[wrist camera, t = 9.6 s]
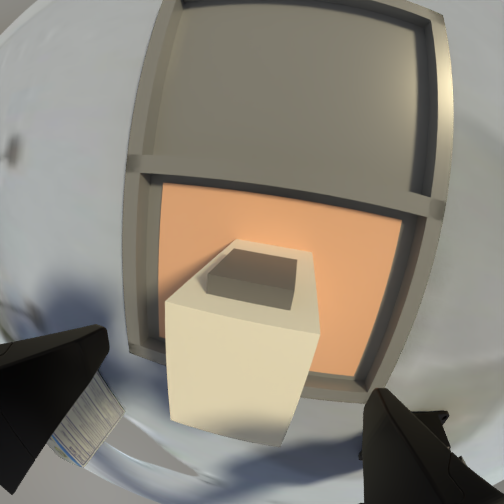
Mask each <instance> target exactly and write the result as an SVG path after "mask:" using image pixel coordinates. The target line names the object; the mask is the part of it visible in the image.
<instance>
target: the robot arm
mask: <svg viewBox="0 0 504 504" xmlns="http://www.w3.org/2000/svg"><path fill="white" fill-rule="evenodd" d="M108 352H109V340H108V334H107V330H106V328H105V327H103V326H100V325H97V324H94V325H90V326H86V327H81V328H77V329H72V330H68V331H63V332H59V333H54V334H50V335H45V336H40V337H35V338H30V339H25V340H20V341H15V342H10V343H5V344H0V485H1V486H2V487H3V488H4V489H5V490H7V491H8V492H9V493H10V494H11V495H13V494H14V493H15V491H16V489H17V488H18V486H19V485H20V483H21V481H22V480H23V478H24V477H25V475H26V473H27V472H28V470H29V469H30V467H31V466H32V464H33V463H34V461H35V459H36V458H37V456H38V455H39V453H40V452H41V450H42V449H43V447H44V446H45V444H46V443H47V442H48V440H49V439H50V437H51V436H52V434H53V433H54V431H55V430H56V429H57V427H58V426H59V424H60V423H61V422H62V420H63V419H64V417H65V416H66V415H67V413H68V412H69V410H70V409H71V408H72V406H73V405H74V404H75V402H76V401H77V400H78V398H79V397H80V395H81V394H82V393H83V391H84V390H85V389H86V387H87V386H88V385H89V383H90V382H91V380H92V379H93V377H94V375H95V374H96V372H97V370H98V369H99V367H100V365H101V364H102V362H103V360H104V359H105V357H106V356H107V354H108ZM448 417H449V413H448V411H438V412H422V413H412V412H411V411H410V410H409V409H408V408H407V407H405V406H404V405H403V404H402V403H401V402H400V401H399V400H398V399H397V398H396V397H395V396H394V395H393V394H392V393H391V392H390V391H389V390H388V389H386V388H375V389H374V390H373V391H372V393H371V395H370V397H369V399H368V401H367V402H366V404H365V407H364V411H363V442H362V451H361V452H360V454H359V455H358V456H359V460H363V476H364V503H359V504H504V494H503V493H501V492H500V491H499V490H497V489H496V488H494V487H493V486H492V485H490V484H489V483H488V482H486V481H485V480H484V479H483V478H481V477H480V476H479V475H477V474H476V473H475V472H474V471H472V470H471V469H470V468H469V467H468V466H467V465H466V463H465V461H464V460H463V458H462V456H460V457H457V456H456V455H455V454H454V453H453V452H451V450H450V448H451V447H450V444H449V441H448V439H447V436H446V434H445V431H444V428H443V426H442V425H443V424H444V423H445V421H446V420H447V419H448Z"/></svg>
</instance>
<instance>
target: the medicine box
mask: <svg viewBox="0 0 504 504" xmlns="http://www.w3.org/2000/svg"><path fill="white" fill-rule="evenodd" d="M124 414H125V411H124V410H123V408H122V407H121V406H120V404H119V403H118V401H117V400H116V398H115V397H114V395H113V394H112V392H111V391H110V390H109V388H108V386H107V385H106V383H105V382H104V380H103V379H102V377H101V375H100V374H99V372H98V370H97V372H96V374H95V375H94V377H93V379H92V380H91V382H90V383H89V385H88V386H87V387H86V389H85V390H84V391H83V393H82V394H81V395H80V397H79V398H78V400H77V401H76V402H75V404H74V405H73V406H72V408H71V409H70V410H69V412H68V413H67V415H66V416H65V417H64V419H63V420H62V422H61V423H60V424H59V426H58V427H57V429H56V430H55V431H54V433H53V434H52V436H51V437H50V439H49V440H48V442H47V443H46V444H47V445H48V446H49V447H50V448H51V449H52V450H53V451H54V452H55V453H56V454H57V455H58V456H59V457H60V458H62V459H64V460H66V461H68V462H70V463H72V464H74V465H77V466H80V467H83V468H84V467H85V466H86V464H87V463H88V462H89V460H90V459H91V457H92V456H93V455H94V454H95V452H96V451H97V449H98V448H99V447H100V446H101V444H102V443H103V442H104V440H105V439H106V438H107V436H108V435H109V433H110V432H111V431H112V429H113V428H114V427H115V426H116V424H117V423H118V421H119V420H120V419H121V417H122V416H123V415H124Z"/></svg>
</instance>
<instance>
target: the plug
mask: <svg viewBox="0 0 504 504" xmlns="http://www.w3.org/2000/svg"><path fill="white" fill-rule="evenodd" d="M319 337H320V323H319V311H318V300H317V290H316V281H315V271H314V263H313V254H312V252H308V251H302V250H297V249H291V248H285V247H280V246H274V245H269V244H263V243H257V242H251V241H246V240H240V239H236V240H234V241H233V242H232V243H231V244H230V245H229V246H227V247H226V248H225V249H224V250H223V251H222V252H220V253H219V254H218V255H217V256H216V257H215V258H214V259H212V260H211V261H210V262H209V263H208V264H207V265H206V266H204V267H203V268H202V269H201V270H200V271H199V272H197V273H196V274H195V275H194V276H193V277H192V278H191V279H190V280H188V281H187V282H186V283H185V284H184V285H183V286H182V287H180V288H179V289H178V290H177V291H176V292H175V293H174V294H173V295H171V296H170V297H169V298H168V299H167V300H166V301H165V340H166V365H167V382H168V395H169V407H170V417H171V420H173V421H175V422H178V423H181V424H184V425H187V426H191V427H194V428H197V429H200V430H204V431H207V432H211V433H214V434H218V435H222V436H226V437H230V438H234V439H238V440H243V441H248V442H252V443H258V444H263V445H269V446H275V447H281V444H282V442H283V440H284V437H285V435H286V432H287V430H288V427H289V425H290V422H291V420H292V417H293V414H294V412H295V409H296V407H297V404H298V401H299V398H300V396H301V393H302V390H303V387H304V384H305V381H306V378H307V375H308V372H309V369H310V366H311V363H312V360H313V357H314V354H315V351H316V347H317V344H318V341H319Z"/></svg>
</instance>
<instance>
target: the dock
mask: <svg viewBox="0 0 504 504" xmlns="http://www.w3.org/2000/svg"><path fill="white" fill-rule="evenodd" d="M452 144H453V86H452V72H451V62H450V53H449V46H448V40H447V34H446V28H445V23H444V18H443V15H441V14H439V13H437V12H434V11H432V10H430V9H427V8H425V7H422V6H420V5H417V4H414V3H412V2H409V1H406V0H163V2H162V4H161V7H160V10H159V13H158V16H157V19H156V22H155V25H154V28H153V31H152V35H151V38H150V42H149V45H148V49H147V52H146V56H145V60H144V64H143V68H142V72H141V77H140V81H139V86H138V91H137V96H136V101H135V106H134V112H133V118H132V124H131V131H130V138H129V146H128V154H127V163H126V174H125V186H124V202H123V231H122V258H123V287H124V303H125V316H126V326H127V335H128V344H129V352H130V353H132V354H134V355H137V356H140V357H142V358H145V359H148V360H151V361H154V362H157V363H159V364H162V365H165V366H167V365H166V340H165V301H166V300H167V299H168V298H169V297H170V296H171V295H173V294H174V293H175V292H176V291H177V290H178V289H179V288H180V287H182V286H183V285H184V284H185V283H186V282H187V281H188V280H190V279H191V278H192V277H193V276H194V275H195V274H196V273H197V272H199V271H200V270H201V269H202V268H203V267H204V266H206V265H207V264H208V263H209V262H210V261H211V260H212V259H214V258H215V257H216V256H217V255H218V254H219V253H220V252H222V251H223V250H224V249H225V248H226V247H227V246H229V245H230V244H231V243H232V242H233V241H234V240H236V239H240V240H246V241H251V242H257V243H263V244H269V245H274V246H280V247H285V248H291V249H297V250H302V251H308V252H312V254H313V263H314V271H315V281H316V290H317V300H318V311H319V323H320V337H319V341H318V344H317V347H316V351H315V354H314V357H313V360H312V363H311V366H310V369H309V372H308V375H307V378H306V381H305V384H304V387H303V390H302V393H301V396H300V397H303V398H310V399H318V400H327V401H337V402H348V403H363V404H366V402H367V401H368V399H369V397H370V395H371V393H372V391H373V390H374V389H375V388H384V387H385V385H386V383H387V381H388V379H389V377H390V375H391V373H392V371H393V369H394V367H395V365H396V363H397V361H398V359H399V356H400V354H401V352H402V350H403V347H404V345H405V343H406V340H407V338H408V336H409V333H410V331H411V328H412V325H413V323H414V320H415V318H416V315H417V312H418V309H419V307H420V304H421V301H422V298H423V295H424V292H425V289H426V285H427V282H428V279H429V275H430V272H431V269H432V265H433V261H434V257H435V254H436V249H437V245H438V241H439V237H440V232H441V227H442V222H443V217H444V212H445V206H446V200H447V193H448V186H449V178H450V169H451V158H452Z"/></svg>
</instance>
